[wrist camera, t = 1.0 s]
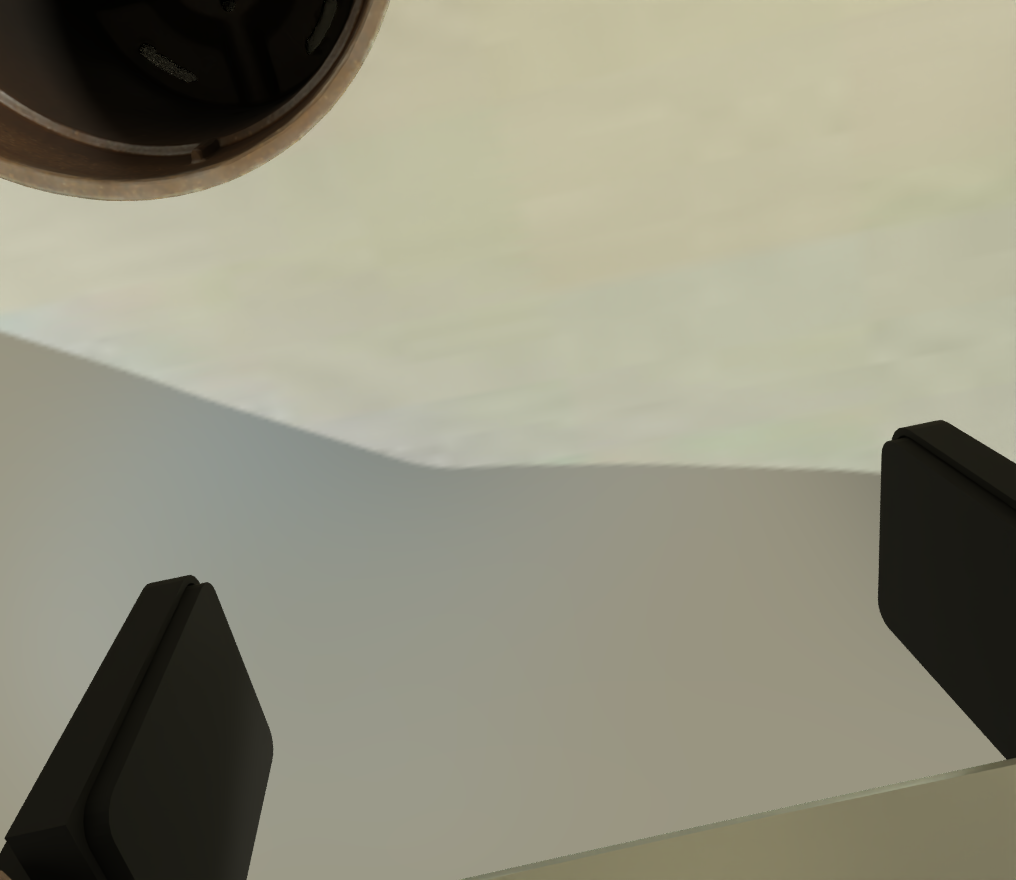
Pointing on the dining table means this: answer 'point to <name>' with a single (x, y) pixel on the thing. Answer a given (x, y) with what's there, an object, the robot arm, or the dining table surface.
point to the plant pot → (166, 89)
